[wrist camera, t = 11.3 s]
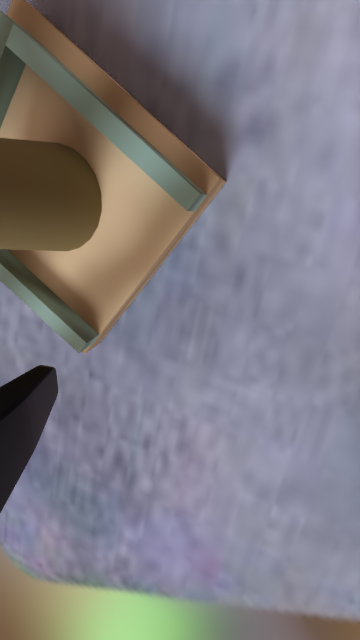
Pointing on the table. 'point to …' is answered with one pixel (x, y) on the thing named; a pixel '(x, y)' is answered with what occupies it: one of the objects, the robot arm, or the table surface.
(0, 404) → the robot arm
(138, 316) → the table surface
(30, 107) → the dock
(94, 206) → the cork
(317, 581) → the table surface
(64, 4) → the table surface
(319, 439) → the table surface
